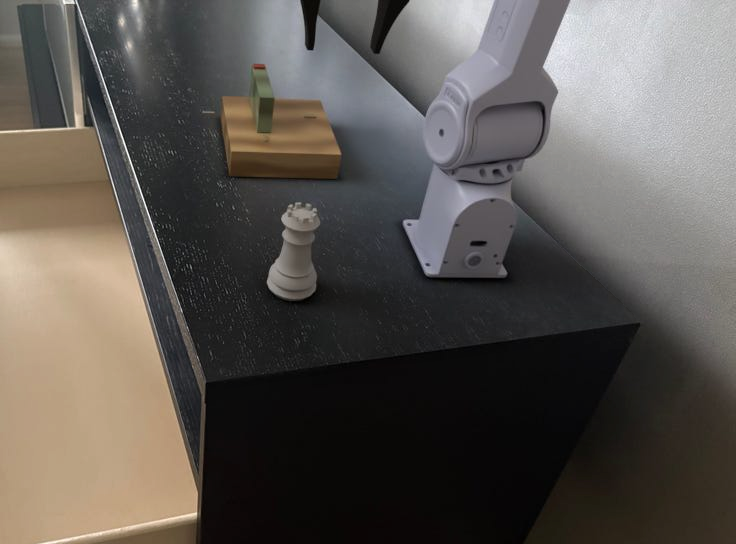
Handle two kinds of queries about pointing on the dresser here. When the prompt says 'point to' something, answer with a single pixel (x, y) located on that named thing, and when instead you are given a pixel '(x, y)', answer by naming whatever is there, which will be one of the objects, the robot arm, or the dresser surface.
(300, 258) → the rook chess piece
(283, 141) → the base
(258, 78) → the green flat block
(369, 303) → the dresser surface
